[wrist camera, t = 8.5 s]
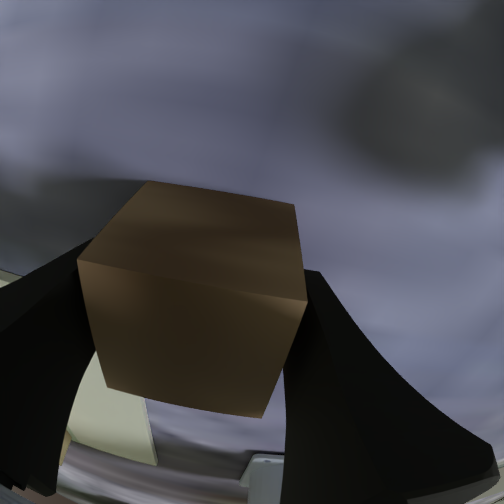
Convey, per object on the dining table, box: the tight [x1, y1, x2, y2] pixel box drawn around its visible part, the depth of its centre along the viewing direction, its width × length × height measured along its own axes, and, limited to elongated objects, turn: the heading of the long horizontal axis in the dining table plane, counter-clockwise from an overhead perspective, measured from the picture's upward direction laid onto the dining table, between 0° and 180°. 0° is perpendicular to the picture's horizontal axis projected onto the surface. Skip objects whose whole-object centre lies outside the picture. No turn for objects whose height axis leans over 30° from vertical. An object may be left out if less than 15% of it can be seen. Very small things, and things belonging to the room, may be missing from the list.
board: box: [0, 270, 158, 466], centre depth 16 cm, size 14×18×1 cm
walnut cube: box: [77, 181, 308, 419], centre depth 9 cm, size 4×4×4 cm
